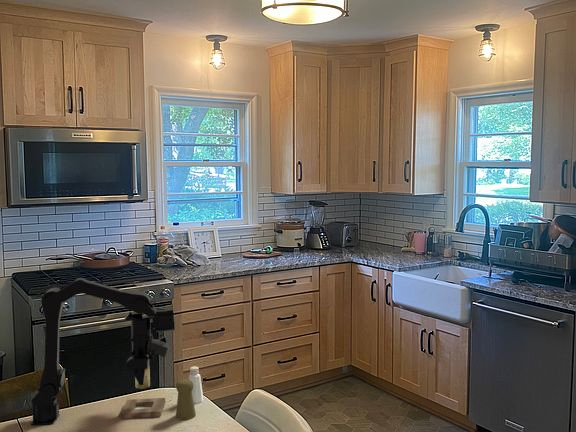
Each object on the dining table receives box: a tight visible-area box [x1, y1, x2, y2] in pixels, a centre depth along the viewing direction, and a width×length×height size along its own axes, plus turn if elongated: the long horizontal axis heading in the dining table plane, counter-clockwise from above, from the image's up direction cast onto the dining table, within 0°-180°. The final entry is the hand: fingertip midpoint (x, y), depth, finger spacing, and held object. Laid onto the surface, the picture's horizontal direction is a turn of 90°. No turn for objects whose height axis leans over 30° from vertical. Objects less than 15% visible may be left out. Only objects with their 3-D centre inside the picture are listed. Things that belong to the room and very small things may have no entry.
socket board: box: [120, 397, 166, 419], centre depth 180 cm, size 12×11×2 cm
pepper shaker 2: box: [187, 365, 204, 405], centre depth 187 cm, size 5×5×11 cm
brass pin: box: [134, 365, 151, 390], centre depth 179 cm, size 4×4×6 cm
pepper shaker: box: [175, 378, 197, 421], centre depth 175 cm, size 6×6×11 cm
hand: (142, 382), depth 179 cm, fingers closed on brass pin, 4 cm apart
